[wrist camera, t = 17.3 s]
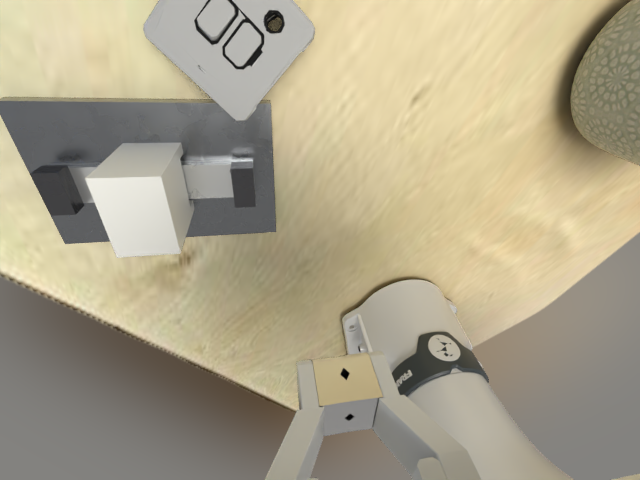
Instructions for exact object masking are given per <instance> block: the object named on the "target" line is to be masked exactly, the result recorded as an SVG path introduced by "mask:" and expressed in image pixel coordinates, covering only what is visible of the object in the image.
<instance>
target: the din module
mask: <svg viewBox="0 0 640 480" xmlns="http://www.w3.org/2000/svg"><path fill="white" fill-rule="evenodd" d="M182 155H183V149H182V144H181V143H123V144H121V145H120V146H119V147H118V148H117V149H116V150H115V151H114V152H113V153H112V154H111V155H110V156H109V157H108V158H106V159H105V160H104V161H103V162H102V163H101V164H100V165H99V166H98V167H97V168H96V169H95V170H94V171H93V172H91V173H90V174H89V175H88V176H87V177H86V178H85V180H86V182H87V185H88V187H89V190H90V192H91V195H92V197H93V200H94V202H95V205H96V207H97V210H98V212H99V215H100V217H101V220H102V222H103V225H104V227H105V230H106V232H107V235H108V237H109V240H110V242H111V244H112V247H113V249H114V252H115V254H116V257H117V258H119V257H134V256H149V255H164V254H180V253H181V251H182V248H183V244H184V241H185V238H186V235H187V231H188V228H189V225H190V222H191V219H192V215H193V212H194V209H195V208H194V203H193V200H189V198H188V194H187V189H186V184H185V179H184V175H183V170H182V165H181V161H180V158H181V156H182Z"/></svg>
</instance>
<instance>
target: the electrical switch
mask: <svg viewBox="0 0 640 480" xmlns="http://www.w3.org/2000/svg"><path fill="white" fill-rule="evenodd" d="M276 17H279V18H281V20H282V26H281V27H280V29H279V31H277V32H275V31H271V30H270V29H269V27H268V23H269V22H270V21H271V20H273V19H275V18H276ZM143 30H144V33H145V36H146V38H147V39H148V40H149V41H151V42H152V43H153V44H154V45H155V46H156V47H157V48H158V49H159V50H160V51H161V52H162V53H164V54H165V55H166V56H167V57H168V58H169V59H170V60H171V61H172V62H173V63H174V64H175V65H177V66H178V67H179V68H180V69H181V70H182V71H183V72H184V73H185V74H186V75H187V76H188V77H189V78H191V79H192V80H193V81H194V82H195V83H196V84H197V85H198V86H199V87H200V88H201V89H202V90H204V91H205V92H206V93H207V94H208V95H209V96H210V97H211V98H212V99H213V100H214V101H215V102H217V103H218V104H219V105H220V106H221V107H222V108H223V109H224V110H225V111H226V112H227V113H228V114H230V115H231V116H232V117H233V118H234V119H235V120H236V121H245V120H247V119H248V118H249V117H250V116H251V114H252V113H253V112H254V111H255V110H256V106H257V105H258V103H259V102H260V101H261V100H262V99H263V97H264V96H265V95H266V94H267V92H268V91H269V90H270V89H271V88H272V86H273V85H274V84H275V83H276V81H277V80H278V79H279V78H280V77H281V75H282V74H283V73H284V72H285V70H286V69H287V68H288V67H289V66H290V64H291V63H292V62H293V61H294V60H295V58H296V57H297V56H298V55H299V53H300V52H301V51H302V52H303V51H304V50H305V49H306V48H307V46H308V45H309V44H310V43H311V41H312V40H313V39H314V35H315V28H314V26H313V23H312V22H311V21H310V20H309V18H308V17H307V16H306V15H305V14H304V13H303V11H302V10H301V9H300V8H299V7H298V6H297V4H296V3H295V2H294V1H293V0H159V1H158V3H157V5H156V6H155V8H154V9H153V11H152V13H151V14H150V16H149V17H148V19H147V21H146V22H145V24H144V29H143ZM201 30H202V31H203V32H204V33H205V34H204V33H203V32H202V31H201Z"/></svg>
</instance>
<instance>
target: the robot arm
mask: <svg viewBox="0 0 640 480" xmlns="http://www.w3.org/2000/svg"><path fill="white" fill-rule="evenodd" d="M456 312H457V308H456V306H455V304H454V303H453V302H451V301H449V300H447V299H446V298H445V297H444V296H443V294H442V292H441V290H440V289H439V288H438V287H437V286H436V285H434V284H433V283H431V282H428V281H424V280H404V281H400V282H396V283H393V284H390V285H388V286H386V287H384V288H382V289H380V290H378V291H377V292H375V293H374V294H373V295H371V296H370V297H369V298H368V299H367V300H366V301H365V302H364V303H363V304H362V305H361V306H360V307H358V308H357V309H355V310H353V311H351V312H349V313H348V314H346V315H345V316H344V317H343V318H342V323H343V329H344V335H345V341H346V348H347V354H348V355H343V356H339V357H330V358H321V359H312V360H303V361H297V385H298V399H299V409H300V410H297V412H296V414H295V416H294V418H293V421H292V423H291V425H290V427H289V429H288V431H287V433H286V435H285V438H284V440H283V442H282V444H281V446H280V448H279V450H278V453H277V455H276V457H275V459H274V461H273V463H272V465H271V468H270V470H269V472H268V474H267V476H266V478H265V480H319V479H318V478H311V479H309V478H310V475H311V472H312V470H313V467H314V464H315V461H316V458H317V455H318V452H319V449H320V446H321V443H322V440H323V436H328V435H332V434H339V433H344V432H349V431H358V430H365V429H373V431H374V432H375V433H376V435H377V436H378V437H379V438H380V439H381V441H382V442H383V443H384V444H385V445H386V446H387V448H388V449H389V450H390V451H391V453H392V454H393V455H394V456H395V457H396V458H397V460H398V461H399V462H400V463H401V464H402V465H403V467H404V468H405V469H406V470H407V472H408V473H409V474H410V475H411V476H412V479H411V480H574V479H572V478H571V477H569V476H568V475H567V474H565V473H564V472H563V471H561V470H560V469H559V468H558V467H556V466H555V465H554V464H553V463H552V462H550V461H549V460H548V459H547V458H546V457H545V456H544V455H543V454H542V453H541V452H540V451H539V450H538V449H537V448H536V447H535V446H534V445H533V444H532V443H531V442H530V440H529V439H528V438H527V437H526V436H525V434H524V433H523V432H522V430H521V429H520V428H519V426H518V425H517V424H516V423H515V421H514V420H513V419H512V417H511V416H510V414H509V413H508V412H507V411H506V409H505V408H504V406H503V405H502V403H501V402H500V400H499V399H498V398H497V396H496V395H495V393H494V392H493V390H492V389H491V387H490V386H489V384H488V382H489V381H488V380H489V379H488V377H487V375H486V373H485V371H484V368H483V366H482V365H481V363H480V362H479V361H478V360H477V359H476V357H475V356H474V354H473V353H472V351H471V350H472V344H471V342H470V341H469V339H468V337H467V335H466V333H465V331H464V330H463V328H462V326H461V324H460V322H459V321H458V319H457V317H456V315H455V314H456ZM612 480H640V474H636V475H632V476H626V477H622V478H617V479H612Z"/></svg>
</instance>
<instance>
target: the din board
mask: <svg viewBox="0 0 640 480" xmlns="http://www.w3.org/2000/svg"><path fill="white" fill-rule="evenodd" d="M0 115H1V117H2V119H3V121H4V123H5V125H6V127H7V129H8V131H9V133H10V135H11V137H12V139H13V141H14V143H15V145H16V147H17V149H18V151H19V153H20V155H21V157H22V159H23V161H24V163H25V165H26V167H27V169H28V171H29V173H30V175H31V177H32V179H33V181H34V183H35V185H36V187H37V189H38V191H39V193H40V195H41V197H42V199H43V201H44V203H45V205H46V207H47V209H48V211H49V213H50V215H51V217H52V219H53V221H54V223H55V225H56V227H57V229H58V231H59V233H60V235H61V237H62V239H63V241H64V243H65V244H72V243H89V242H107V241H110V240H109V237H108V235H107V232H106V230H105V227H104V225H103V222H102V220H101V217H100V215H99V212H98V210H97V207H96V205H95V202H94V200H93V197H92V195H91V192H90V190H89V187H88V185H87V182H86V180H85V178H86V177H87V176H88V175H89V174H90V173H91V172H93V171H94V170H95V169H96V168H97V167H98V166H99V165H100V164H101V163H102V162H103V161H104V160H105V159H106V158H108V157H109V156H110V155H111V154H112V153H113V152H114V151H115V150H116V149H117V148H118V147H119V146H120V145H121V144H123V143H181V144H182V149H183V155H182V156H181V158H180V161H181V165H182V170H183V175H184V179H185V184H186V189H187V194H188V198H189V200H193V203H194V208H195V209H194V212H193V215H192V219H191V222H190V225H189V228H188V231H187V235H186V237H194V236H211V235H229V234H246V233H264V232H276V220H275V195H274V171H273V147H272V122H271V103H270V100H261V101H260V102H259V103H258V105H257V106H256V110H255V111H254V112H253V113H252V114H251V116H250V117H249V118H248V119H247V120H245V121H236V120H235V119H234V118H233V117H232V116H231V115H230V114H228V113H227V112H226V111H225V110H224V109H223V108H222V107H221V106H220V105H219V104H218V103H217V102H215V101H214V100H199V99H118V98H38V97H4V98H0Z"/></svg>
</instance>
